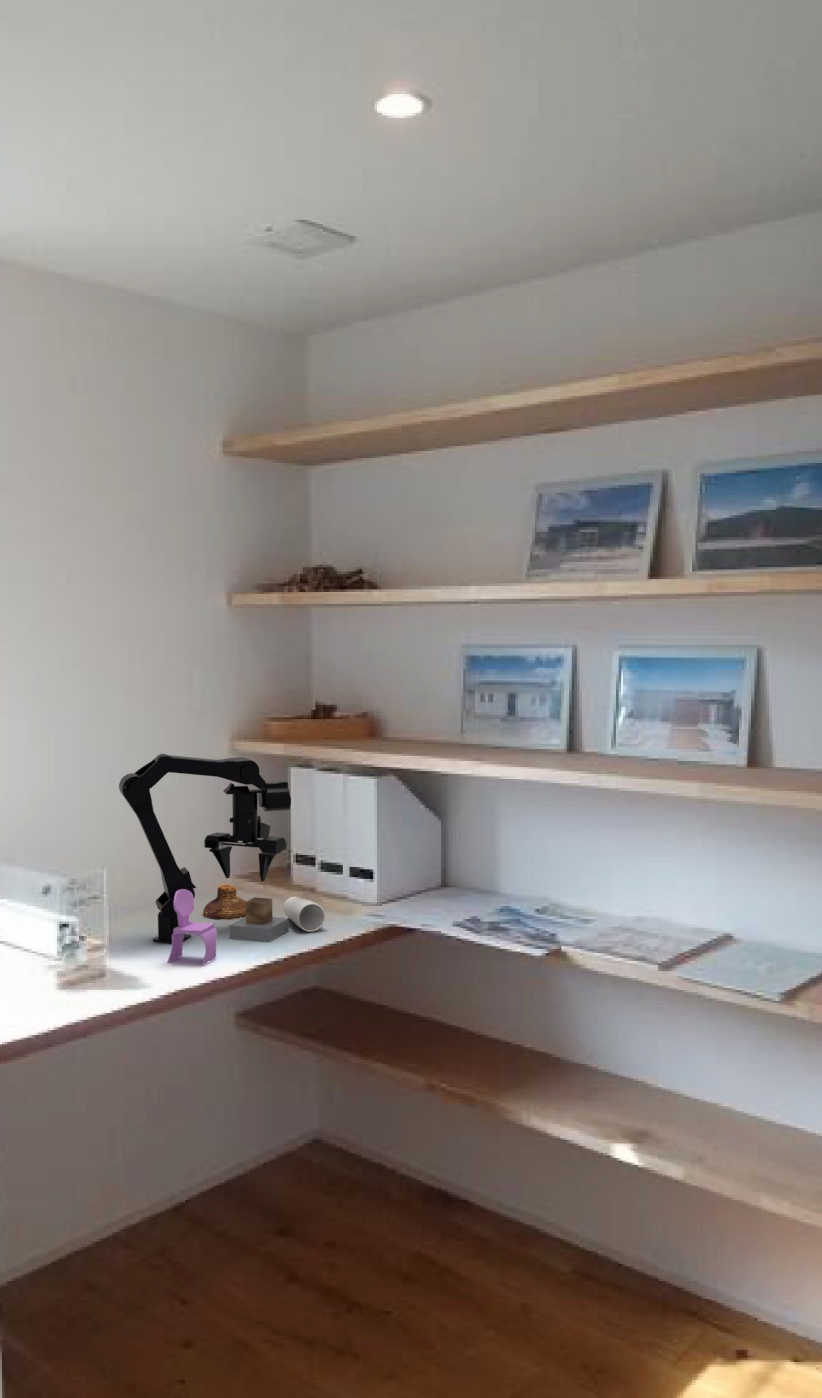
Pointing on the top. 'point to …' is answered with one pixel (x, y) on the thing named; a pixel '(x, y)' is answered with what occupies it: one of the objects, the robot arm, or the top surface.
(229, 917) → the bell
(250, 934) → the base
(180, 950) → the toy chair
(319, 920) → the white hollow cylinder
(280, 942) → the top surface
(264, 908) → the walnut block
